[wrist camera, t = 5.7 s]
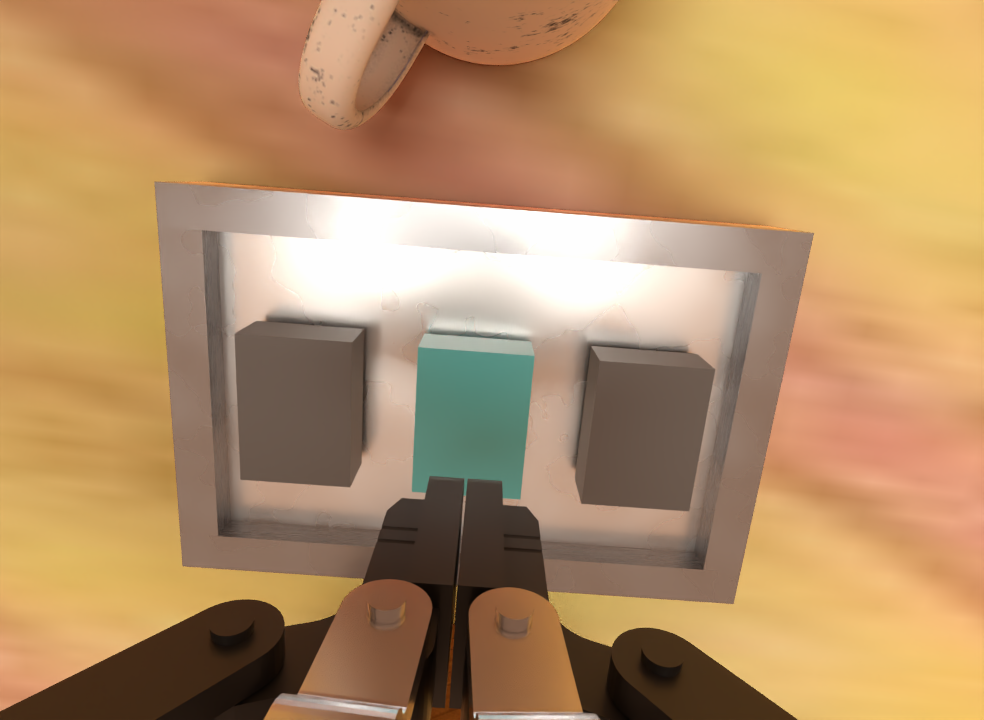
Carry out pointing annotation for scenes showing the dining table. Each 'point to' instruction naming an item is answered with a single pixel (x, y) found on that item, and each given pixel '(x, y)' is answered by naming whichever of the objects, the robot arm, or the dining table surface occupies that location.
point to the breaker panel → (485, 314)
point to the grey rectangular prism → (299, 403)
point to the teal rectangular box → (472, 410)
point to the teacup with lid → (403, 32)
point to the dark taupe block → (642, 428)
